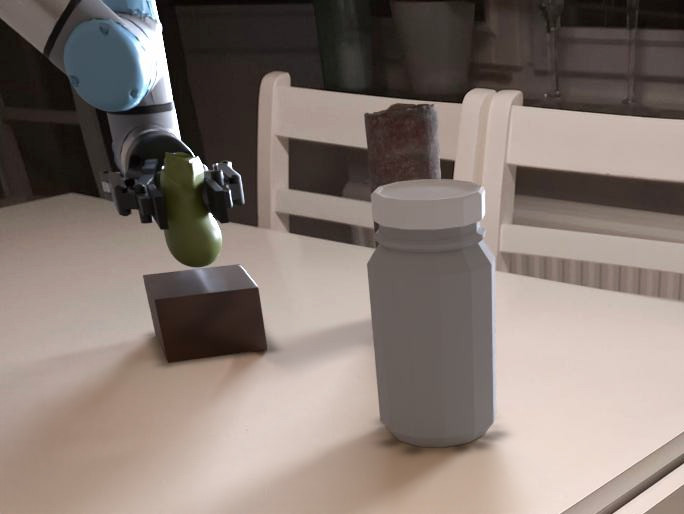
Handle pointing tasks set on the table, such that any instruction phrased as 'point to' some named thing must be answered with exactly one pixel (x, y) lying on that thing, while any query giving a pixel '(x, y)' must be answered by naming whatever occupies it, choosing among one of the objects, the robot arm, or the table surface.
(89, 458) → the table surface
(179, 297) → the block
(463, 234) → the jar
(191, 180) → the pear
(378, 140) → the candle
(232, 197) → the robot arm
